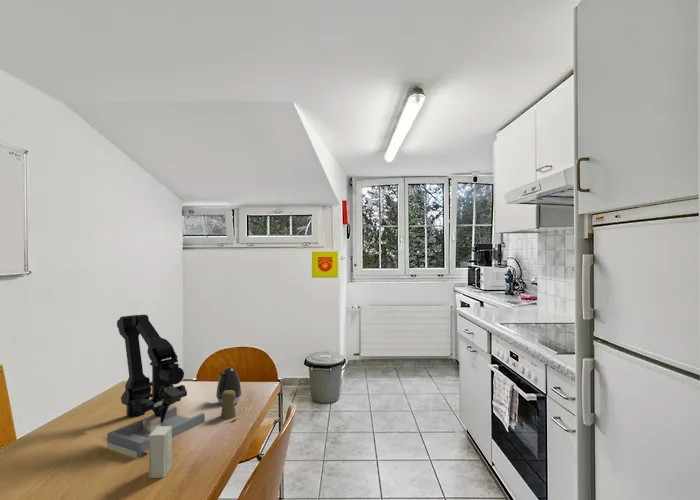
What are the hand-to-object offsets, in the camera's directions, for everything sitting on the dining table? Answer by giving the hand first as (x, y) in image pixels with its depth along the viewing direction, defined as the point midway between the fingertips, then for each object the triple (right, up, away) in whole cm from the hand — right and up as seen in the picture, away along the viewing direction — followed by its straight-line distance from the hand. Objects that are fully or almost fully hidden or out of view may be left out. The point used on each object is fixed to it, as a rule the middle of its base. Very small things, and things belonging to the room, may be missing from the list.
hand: (161, 422), depth 144 cm
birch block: (-2, -1, -3) cm, 4 cm away
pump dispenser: (+16, -3, +26) cm, 31 cm away
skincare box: (+13, -2, -28) cm, 32 cm away
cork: (+21, -3, +9) cm, 23 cm away
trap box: (+1, -3, -5) cm, 6 cm away
